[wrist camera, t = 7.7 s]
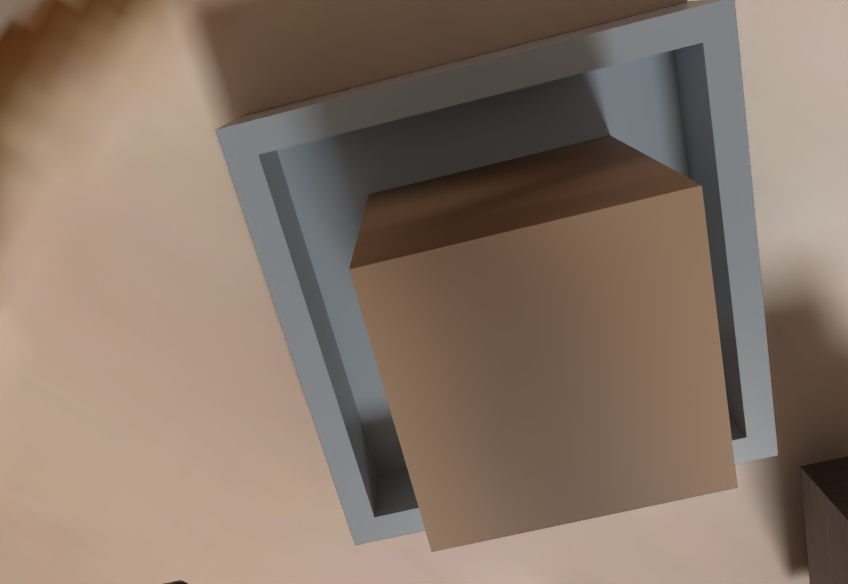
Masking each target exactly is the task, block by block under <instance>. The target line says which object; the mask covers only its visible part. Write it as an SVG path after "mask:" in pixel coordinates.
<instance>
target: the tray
mask: <svg viewBox="0 0 848 584" xmlns="http://www.w3.org/2000/svg"><path fill="white" fill-rule="evenodd" d="M216 133H217V136H218V139H219V142H220V145H221V148H222V151H223V154H224V157H225V160H226V163H227V166H228V169H229V172H230V175H231V178H232V181H233V184H234V187H235V190H236V193H237V196H238V199H239V202H240V205H241V208H242V211H243V214H244V217H245V220H246V223H247V226H248V229H249V232H250V235H251V238H252V240H253V243H254V246H255V249H256V252H257V255H258V258H259V261H260V264H261V267H262V270H263V273H264V276H265V279H266V282H267V285H268V288H269V291H270V294H271V297H272V300H273V303H274V306H275V309H276V312H277V315H278V318H279V321H280V324H281V327H282V330H283V333H284V336H285V339H286V342H287V345H288V348H289V351H290V354H291V357H292V360H293V363H294V366H295V369H296V371H297V374H298V377H299V380H300V383H301V386H302V389H303V392H304V395H305V398H306V401H307V404H308V407H309V410H310V413H311V416H312V419H313V422H314V425H315V428H316V431H317V434H318V437H319V440H320V443H321V446H322V449H323V452H324V455H325V458H326V461H327V464H328V467H329V470H330V473H331V476H332V479H333V482H334V485H335V488H336V491H337V494H338V497H339V500H340V502H341V505H342V508H343V511H344V514H345V517H346V520H347V523H348V526H349V529H350V532H351V535H352V538H353V541H354V544H355V545H360V544H365V543H369V542H374V541H379V540H383V539H388V538H393V537H397V536H402V535H407V534H412V533H416V532H421V531H425V527H424V524H423V520H422V517H421V514H420V510H419V507H418V503H417V500H416V497H415V493H414V490H413V486H412V483H411V480H410V476H409V473H408V469H407V466H406V462H405V459H404V456H403V452H402V449H401V445H400V442H399V439H398V435H397V432H396V428H395V425H394V422H393V418H392V415H391V411H390V408H389V405H388V401H387V398H386V394H385V391H384V388H383V384H382V381H381V377H380V374H379V370H378V367H377V364H376V360H375V357H374V353H373V350H372V347H371V343H370V340H369V336H368V333H367V330H366V326H365V323H364V319H363V316H362V313H361V309H360V306H359V302H358V299H357V296H356V292H355V289H354V285H353V282H352V279H351V275H350V272H349V267H350V263H351V260H352V256H353V252H354V248H355V245H356V241H357V237H358V233H359V230H360V226H361V222H362V218H363V215H364V211H365V207H366V203H367V199H368V196H369V194H372V193H376V192H381V191H385V190H389V189H393V188H397V187H401V186H405V185H409V184H413V183H417V182H421V181H425V180H429V179H434V178H438V177H442V176H446V175H450V174H454V173H458V172H462V171H466V170H470V169H474V168H478V167H482V166H487V165H491V164H495V163H499V162H503V161H507V160H511V159H515V158H519V157H523V156H527V155H531V154H535V153H539V152H544V151H548V150H552V149H556V148H560V147H564V146H568V145H572V144H576V143H580V142H584V141H588V140H592V139H597V138H601V137H605V136H609V135H611V136H613V137H614V138H616V139H618V140H620V141H622V142H623V143H625V144H627V145H629V146H631V147H633V148H634V149H636V150H638V151H640V152H642V153H644V154H645V155H647V156H649V157H651V158H653V159H655V160H656V161H658V162H660V163H662V164H664V165H666V166H667V167H669V168H671V169H673V170H675V171H677V172H678V173H680V174H682V175H684V176H686V177H688V178H689V179H691V180H693V181H695V182H697V183H699V184H700V185H702V191H703V200H704V208H705V217H706V225H707V233H708V242H709V250H710V259H711V267H712V276H713V284H714V293H715V301H716V310H717V318H718V327H719V335H720V343H721V352H722V360H723V369H724V377H725V386H726V394H727V403H728V411H729V420H730V428H731V437H732V445H733V453H734V462H735V465H736V464H740V463H745V462H750V461H754V460H759V459H764V458H768V457H773V456H778V449H777V439H776V428H775V418H774V407H773V397H772V386H771V376H770V365H769V355H768V344H767V334H766V323H765V313H764V302H763V292H762V281H761V271H760V260H759V250H758V239H757V229H756V218H755V208H754V197H753V187H752V176H751V166H750V155H749V145H748V134H747V124H746V113H745V103H744V92H743V82H742V71H741V60H740V50H739V39H738V29H737V18H736V8H735V0H699V1H689V2H685V3H681V4H677V5H673V6H669V7H665V8H661V9H658V10H654V11H650V12H646V13H642V14H638V15H634V16H630V17H626V18H622V19H619V20H615V21H611V22H607V23H603V24H599V25H595V26H591V27H587V28H583V29H580V30H576V31H572V32H568V33H564V34H560V35H556V36H552V37H548V38H544V39H541V40H537V41H533V42H529V43H525V44H521V45H517V46H513V47H509V48H505V49H502V50H498V51H494V52H490V53H486V54H482V55H478V56H474V57H470V58H466V59H463V60H459V61H455V62H451V63H447V64H443V65H439V66H435V67H431V68H427V69H423V70H420V71H416V72H412V73H408V74H404V75H400V76H396V77H392V78H388V79H384V80H381V81H377V82H373V83H369V84H365V85H361V86H357V87H353V88H349V89H345V90H342V91H338V92H334V93H330V94H326V95H322V96H318V97H314V98H310V99H306V100H303V101H299V102H295V103H291V104H287V105H283V106H279V107H275V108H271V109H267V110H264V111H260V112H256V113H252V114H248V115H244V116H241V117H239V118H237V119H235V120H234V121H232V122H230V123H228V124H226V125H224V126H222V127H220V128H218V129H216Z"/></svg>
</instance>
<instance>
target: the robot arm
mask: <svg viewBox="0 0 848 584" xmlns="http://www.w3.org/2000/svg"><path fill="white" fill-rule="evenodd" d="M165 584H188V583H186V582H184V581H174V582H170V583H165Z"/></svg>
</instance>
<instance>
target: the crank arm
mask: <svg viewBox="0 0 848 584" xmlns="http://www.w3.org/2000/svg"><path fill="white" fill-rule="evenodd" d="M800 471H801V483H802V494H803V506H804V518H805V530H806V542H807V554H808V566H809V578H810V584H848V456H847V457H842V458H838V459H833V460H828V461H824V462H819V463H814V464H809V465H805V466H800Z"/></svg>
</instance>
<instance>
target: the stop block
mask: <svg viewBox="0 0 848 584" xmlns="http://www.w3.org/2000/svg"><path fill="white" fill-rule="evenodd" d="M349 272H350V275H351V279H352V282H353V285H354V289H355V292H356V296H357V299H358V302H359V306H360V309H361V313H362V316H363V319H364V323H365V326H366V330H367V333H368V336H369V340H370V343H371V347H372V350H373V353H374V357H375V360H376V364H377V367H378V370H379V374H380V377H381V381H382V384H383V388H384V391H385V394H386V398H387V401H388V405H389V408H390V411H391V415H392V418H393V422H394V425H395V428H396V432H397V435H398V439H399V442H400V445H401V449H402V452H403V456H404V459H405V462H406V466H407V469H408V473H409V476H410V480H411V483H412V486H413V490H414V493H415V497H416V500H417V503H418V507H419V510H420V514H421V517H422V520H423V524H424V527H425V531H426V534H427V537H428V541H429V544H430V548H431V551H432V552H434V551H439V550H444V549H448V548H453V547H458V546H463V545H467V544H472V543H477V542H482V541H486V540H491V539H496V538H501V537H505V536H510V535H515V534H520V533H524V532H529V531H534V530H539V529H543V528H548V527H553V526H558V525H562V524H567V523H572V522H577V521H581V520H586V519H591V518H596V517H600V516H605V515H610V514H615V513H620V512H624V511H629V510H634V509H639V508H643V507H648V506H653V505H658V504H662V503H667V502H672V501H677V500H681V499H686V498H691V497H696V496H700V495H705V494H710V493H715V492H719V491H724V490H729V489H734V488H738V487H737V479H736V470H735V462H734V453H733V445H732V437H731V428H730V420H729V411H728V403H727V394H726V386H725V377H724V369H723V360H722V352H721V343H720V335H719V327H718V318H717V310H716V301H715V293H714V284H713V276H712V267H711V259H710V250H709V242H708V233H707V225H706V217H705V208H704V200H703V191H702V185H700V184H699V183H697V182H695V181H693V180H691V179H689V178H688V177H686V176H684V175H682V174H680V173H678V172H677V171H675V170H673V169H671V168H669V167H667V166H666V165H664V164H662V163H660V162H658V161H656V160H655V159H653V158H651V157H649V156H647V155H645V154H644V153H642V152H640V151H638V150H636V149H634V148H633V147H631V146H629V145H627V144H625V143H623V142H622V141H620V140H618V139H616V138H614V137H613V136H611V135H609V136H605V137H601V138H597V139H592V140H588V141H584V142H580V143H576V144H572V145H568V146H564V147H560V148H556V149H552V150H548V151H544V152H539V153H535V154H531V155H527V156H523V157H519V158H515V159H511V160H507V161H503V162H499V163H495V164H491V165H487V166H482V167H478V168H474V169H470V170H466V171H462V172H458V173H454V174H450V175H446V176H442V177H438V178H434V179H429V180H425V181H421V182H417V183H413V184H409V185H405V186H401V187H397V188H393V189H389V190H385V191H381V192H376V193H372V194H369V196H368V199H367V203H366V207H365V211H364V215H363V218H362V222H361V226H360V230H359V233H358V237H357V241H356V245H355V248H354V252H353V256H352V260H351V263H350V267H349Z"/></svg>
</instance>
